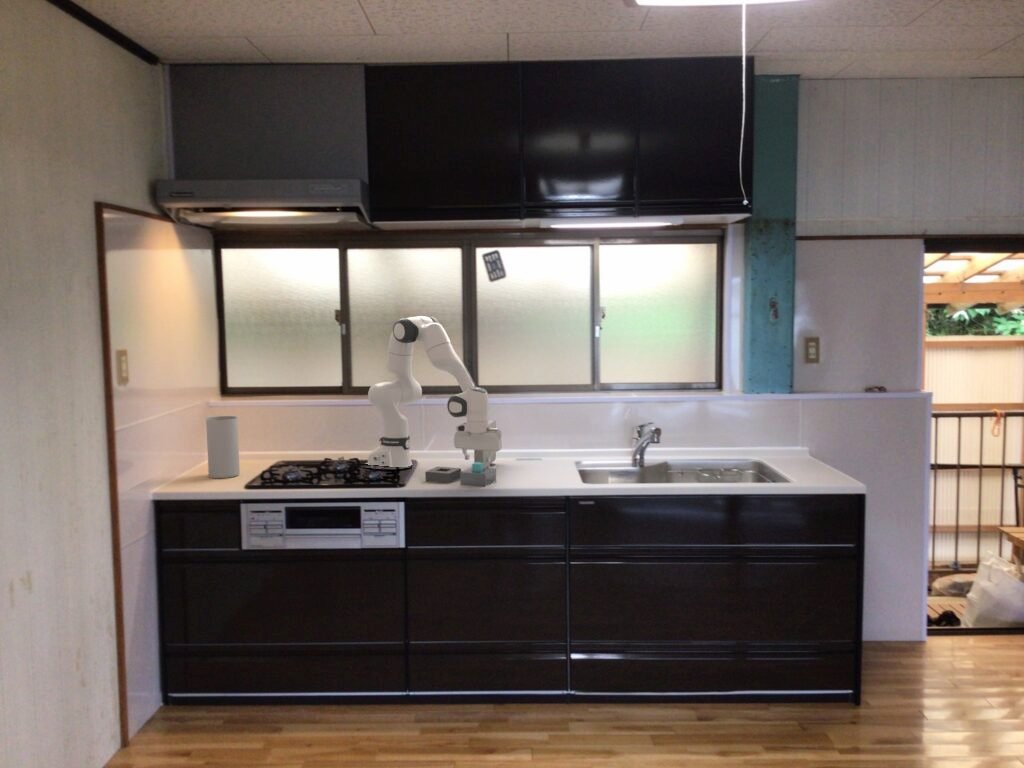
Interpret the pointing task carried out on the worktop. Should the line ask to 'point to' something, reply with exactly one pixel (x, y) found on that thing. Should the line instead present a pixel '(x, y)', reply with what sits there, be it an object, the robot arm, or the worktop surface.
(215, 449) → the cylinder vase
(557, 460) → the worktop surface
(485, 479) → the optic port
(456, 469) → the holster
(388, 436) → the robot arm
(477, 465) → the plug
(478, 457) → the network device
